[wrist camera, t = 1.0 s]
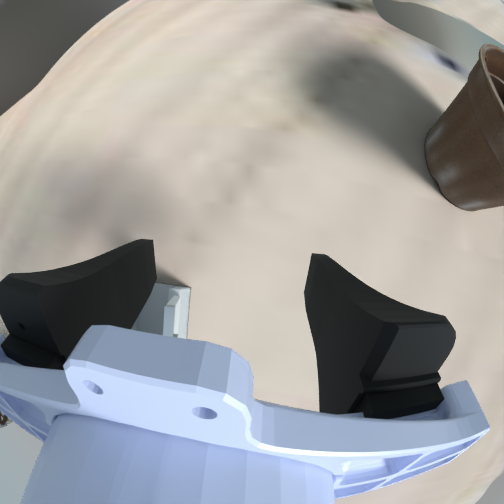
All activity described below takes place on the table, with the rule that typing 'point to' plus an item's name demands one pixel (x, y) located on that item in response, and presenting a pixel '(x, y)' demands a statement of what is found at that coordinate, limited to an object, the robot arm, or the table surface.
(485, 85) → the plant pot
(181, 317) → the grey slotted block
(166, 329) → the cover
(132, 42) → the table surface
